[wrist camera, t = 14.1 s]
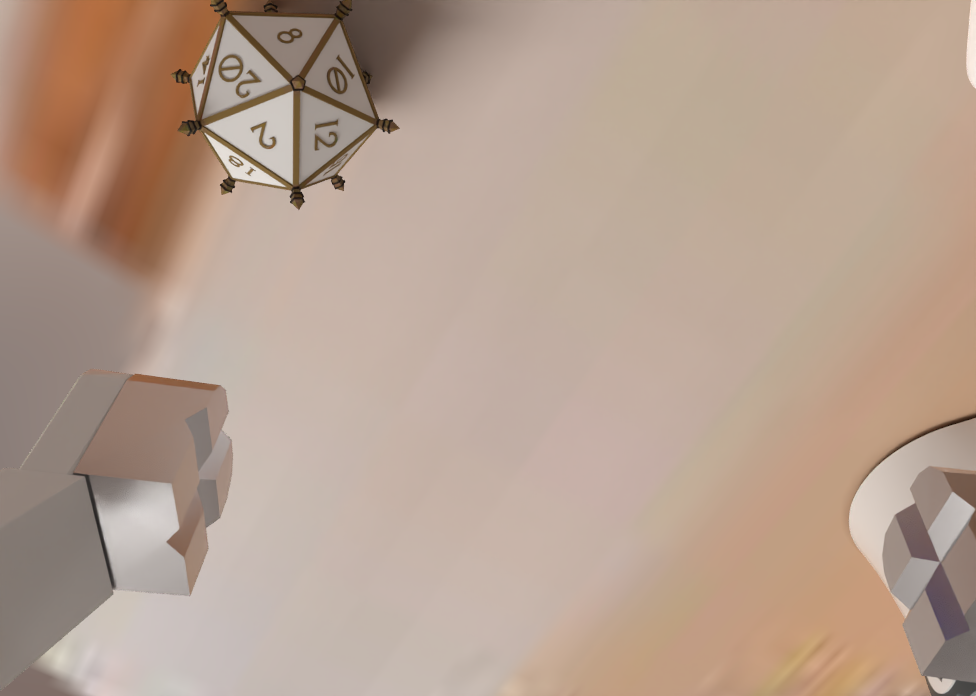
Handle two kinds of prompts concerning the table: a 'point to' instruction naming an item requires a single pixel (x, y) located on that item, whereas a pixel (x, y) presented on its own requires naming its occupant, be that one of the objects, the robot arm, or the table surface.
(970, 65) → the calculator
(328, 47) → the game die
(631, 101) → the table surface
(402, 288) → the table surface
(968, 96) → the table surface
